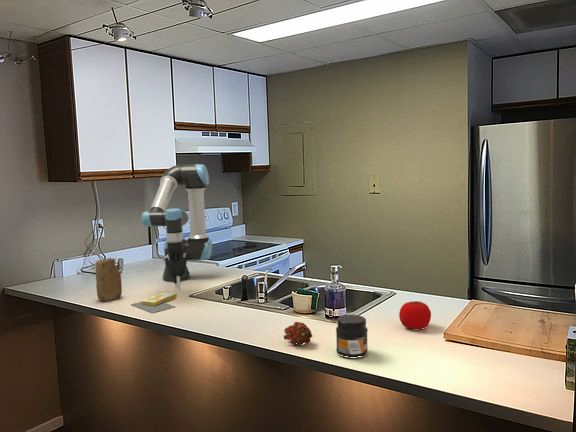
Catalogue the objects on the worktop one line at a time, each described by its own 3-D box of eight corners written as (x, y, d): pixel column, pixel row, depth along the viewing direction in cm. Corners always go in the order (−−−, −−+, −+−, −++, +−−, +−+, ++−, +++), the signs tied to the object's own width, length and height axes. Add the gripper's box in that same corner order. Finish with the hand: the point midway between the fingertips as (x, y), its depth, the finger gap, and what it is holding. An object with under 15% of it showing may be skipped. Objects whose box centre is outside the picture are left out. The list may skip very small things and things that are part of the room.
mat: (154, 299, 238) (154, 298, 238) (175, 307, 224) (175, 306, 224) (130, 304, 230) (130, 304, 230) (152, 313, 216) (151, 312, 216)
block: (101, 303, 234) (98, 262, 232) (96, 300, 240) (93, 259, 238) (123, 298, 241) (121, 258, 239) (118, 295, 247) (115, 256, 245)
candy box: (177, 297, 240) (163, 295, 243) (177, 293, 240) (163, 291, 243) (154, 306, 225) (141, 304, 229) (154, 302, 225) (140, 299, 229)
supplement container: (356, 362, 158) (355, 326, 156) (330, 354, 165) (329, 319, 163) (373, 352, 165) (373, 317, 164) (348, 345, 172) (347, 312, 171)
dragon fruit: (310, 353, 170) (286, 349, 179) (321, 333, 175) (297, 331, 184) (298, 337, 167) (274, 334, 175) (309, 318, 171) (285, 316, 180)
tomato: (412, 335, 181) (412, 307, 180) (393, 325, 191) (393, 299, 190) (437, 330, 185) (438, 303, 184) (418, 321, 196) (418, 295, 195)
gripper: (166, 243, 226) (169, 293, 229) (191, 240, 235) (193, 288, 238) (158, 242, 231) (161, 290, 234) (182, 238, 240) (185, 285, 243)
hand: (177, 289), depth 236 cm, fingers closed
